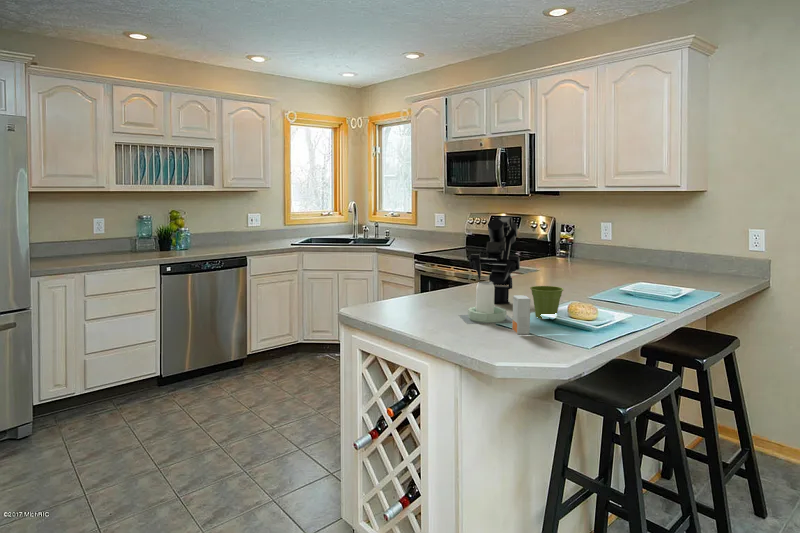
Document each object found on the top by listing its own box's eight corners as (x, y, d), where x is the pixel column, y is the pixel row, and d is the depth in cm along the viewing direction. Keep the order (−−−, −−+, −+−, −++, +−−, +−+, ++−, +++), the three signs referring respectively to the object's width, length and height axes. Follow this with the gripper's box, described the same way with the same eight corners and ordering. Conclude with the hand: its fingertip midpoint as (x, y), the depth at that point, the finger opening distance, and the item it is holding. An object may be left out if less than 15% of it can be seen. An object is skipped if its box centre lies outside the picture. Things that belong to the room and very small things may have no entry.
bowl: (499, 314, 207) (499, 305, 206) (510, 322, 194) (510, 313, 193) (464, 315, 205) (464, 306, 205) (473, 323, 192) (473, 314, 192)
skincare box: (511, 330, 184) (512, 295, 183) (524, 330, 185) (525, 295, 183) (516, 335, 178) (518, 298, 177) (529, 335, 179) (531, 298, 177)
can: (496, 316, 198) (497, 283, 197) (480, 317, 196) (480, 284, 195) (489, 312, 204) (490, 280, 203) (472, 313, 203) (473, 281, 201)
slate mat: (505, 314, 207) (505, 313, 207) (517, 323, 194) (517, 322, 194) (458, 316, 205) (458, 314, 205) (467, 325, 191) (467, 323, 191)
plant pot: (562, 316, 206) (564, 286, 204) (562, 323, 195) (563, 291, 193) (530, 313, 209) (531, 284, 208) (527, 320, 198) (528, 289, 197)
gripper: (470, 233, 211) (463, 265, 202) (520, 234, 205) (515, 267, 196) (473, 251, 219) (467, 283, 211) (521, 253, 214) (517, 286, 205)
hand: (491, 279), depth 205 cm, fingers open, 9 cm apart
